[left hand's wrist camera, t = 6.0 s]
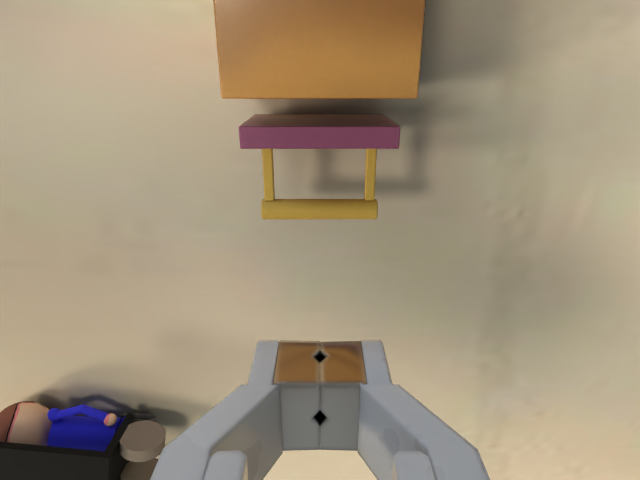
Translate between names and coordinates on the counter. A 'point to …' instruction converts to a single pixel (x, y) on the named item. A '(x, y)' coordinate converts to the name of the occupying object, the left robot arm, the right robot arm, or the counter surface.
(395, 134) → the drawer
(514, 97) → the counter surface
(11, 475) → the figurine character
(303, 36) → the wooden box
